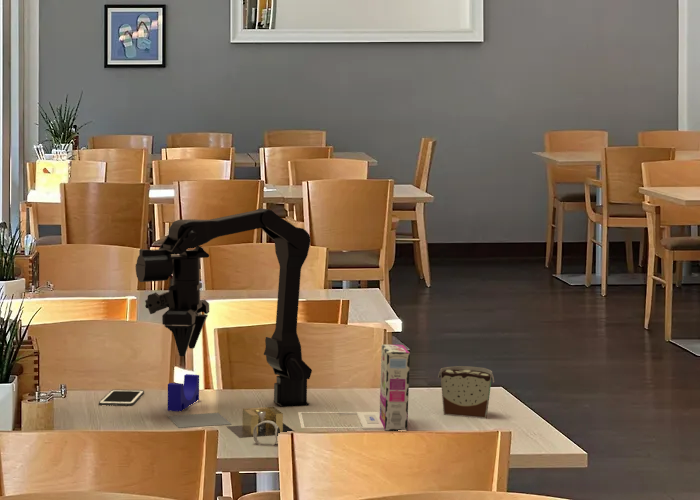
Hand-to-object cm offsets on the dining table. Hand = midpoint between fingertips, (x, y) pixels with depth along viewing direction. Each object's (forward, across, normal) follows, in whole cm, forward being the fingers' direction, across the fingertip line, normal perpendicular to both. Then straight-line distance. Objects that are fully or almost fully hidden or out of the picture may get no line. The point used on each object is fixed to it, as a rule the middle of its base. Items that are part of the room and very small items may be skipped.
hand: (187, 352), depth 267 cm
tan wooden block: (+13, +14, +18) cm, 27 cm away
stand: (+14, +14, +18) cm, 27 cm away
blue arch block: (+14, -9, -4) cm, 17 cm away
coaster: (+14, +7, +4) cm, 16 cm away
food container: (+15, -11, +60) cm, 62 cm away
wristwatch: (+14, +25, +21) cm, 35 cm away
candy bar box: (+14, +3, +44) cm, 47 cm away
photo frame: (+15, +2, +33) cm, 36 cm away
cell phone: (+14, -13, -18) cm, 26 cm away
